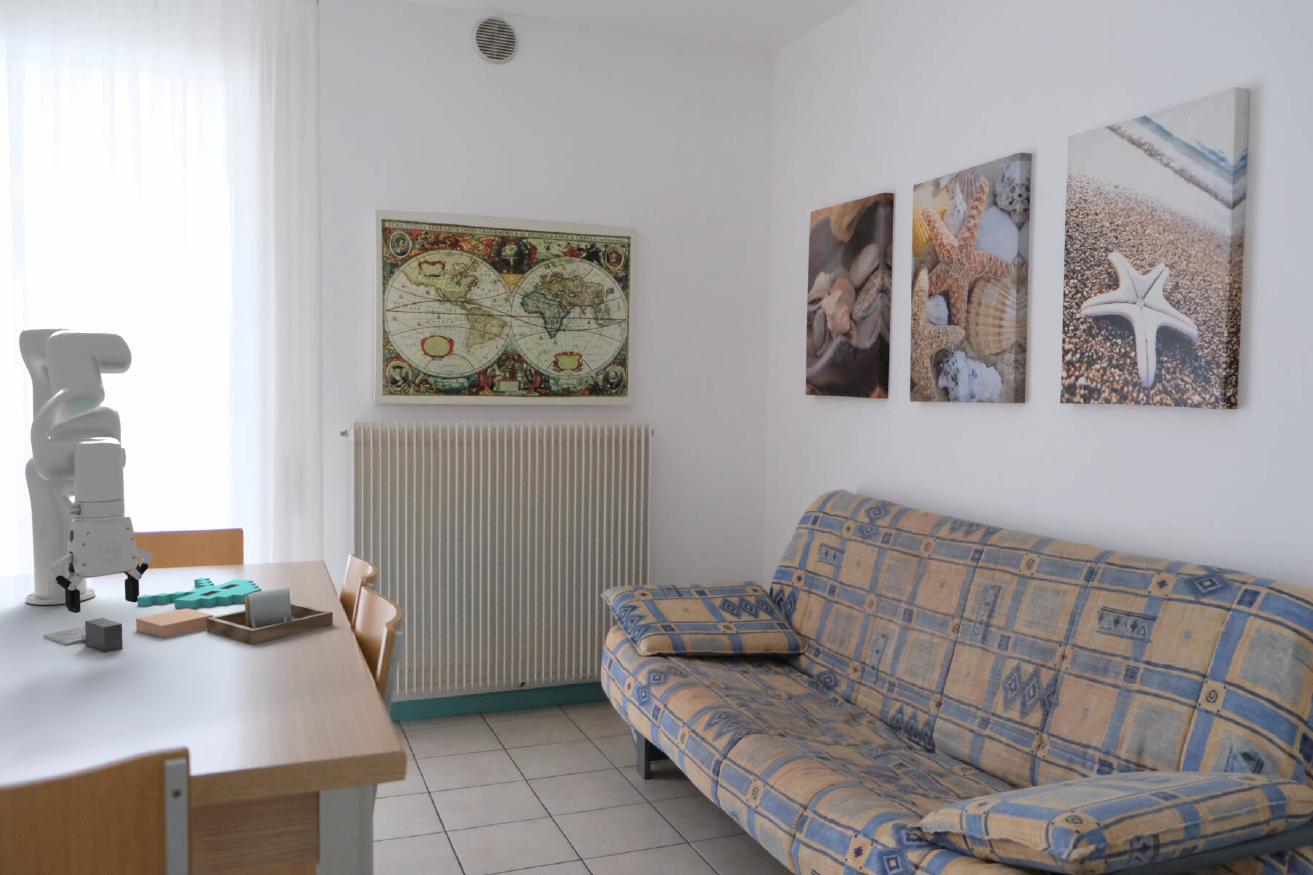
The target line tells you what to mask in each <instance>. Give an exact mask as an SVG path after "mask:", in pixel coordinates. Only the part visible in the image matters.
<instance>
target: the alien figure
mask: <svg viewBox="0 0 1313 875" xmlns="http://www.w3.org/2000/svg"><path fill="white" fill-rule="evenodd" d="M193 583H194V588H196V589H193V590H192V589H191V590H189V591H179V590H178V591H175V592H173V593H172V592H171V593H167V592H166V593H165V592H161V593H157V594H153V595H152V594H150V595H149V594H144V595H139V596H138V601H137V602H136V603H137V606H138V605H142V606H141V607H149V606H151V605H150V604H152V605H154V604H155V605H166V604H168V603H174V609H186V608H188V609H192V610H196V609H198V608H203V607H204V608H212V607H214V606H215V607H216V606H229V605H231V603H232V604H245V603H244V602H245V596H246V595H248V594H251V593H254V592H261V591H262V588H261V587H260V588H259V585H257V584H256V582H253V580H250V579H233V580H231V581H230V580H229V581H227V582H224V583H220V584H218V585H215V583H214V582H213V581H212V580H210V577H199V578H196V579H194V582H193ZM233 602H234V603H233ZM228 604H229V605H228ZM148 605H149V606H148Z"/></svg>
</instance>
